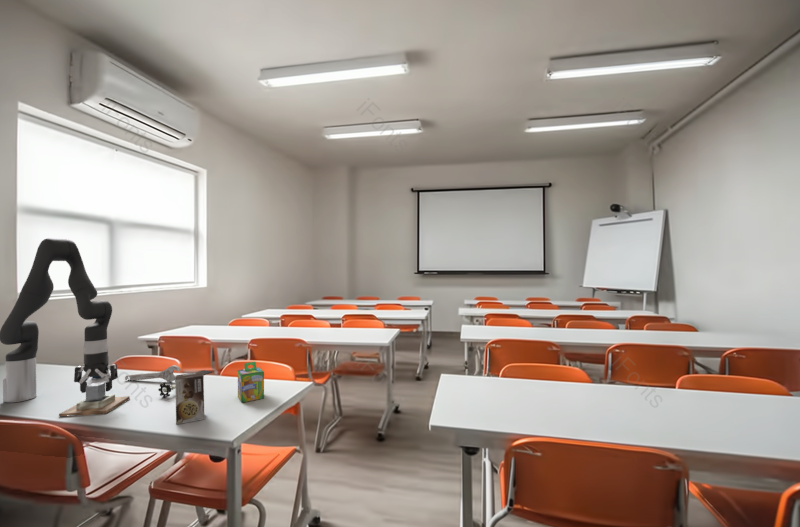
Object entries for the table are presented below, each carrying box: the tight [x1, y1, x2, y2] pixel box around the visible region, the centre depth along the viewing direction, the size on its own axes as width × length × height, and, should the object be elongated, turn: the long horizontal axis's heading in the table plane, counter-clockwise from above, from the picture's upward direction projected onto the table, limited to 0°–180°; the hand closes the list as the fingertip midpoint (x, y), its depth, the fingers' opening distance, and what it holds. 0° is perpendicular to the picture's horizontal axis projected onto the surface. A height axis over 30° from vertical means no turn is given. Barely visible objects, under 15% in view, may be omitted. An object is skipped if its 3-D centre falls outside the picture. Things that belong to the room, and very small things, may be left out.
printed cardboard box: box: [174, 371, 205, 425], centre depth 137 cm, size 9×6×16 cm
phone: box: [198, 370, 213, 376], centre depth 192 cm, size 7×1×15 cm
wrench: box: [124, 364, 182, 383], centre depth 183 cm, size 8×2×30 cm
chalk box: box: [237, 361, 265, 403], centre depth 158 cm, size 9×9×15 cm
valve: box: [157, 381, 175, 399], centre depth 165 cm, size 7×7×12 cm
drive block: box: [85, 382, 106, 402], centre depth 149 cm, size 4×4×8 cm
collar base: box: [58, 394, 130, 417], centre depth 149 cm, size 16×16×3 cm
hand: (96, 391), depth 149 cm, fingers open, 8 cm apart
